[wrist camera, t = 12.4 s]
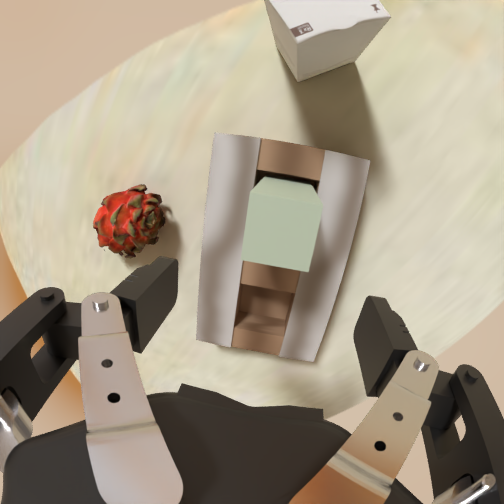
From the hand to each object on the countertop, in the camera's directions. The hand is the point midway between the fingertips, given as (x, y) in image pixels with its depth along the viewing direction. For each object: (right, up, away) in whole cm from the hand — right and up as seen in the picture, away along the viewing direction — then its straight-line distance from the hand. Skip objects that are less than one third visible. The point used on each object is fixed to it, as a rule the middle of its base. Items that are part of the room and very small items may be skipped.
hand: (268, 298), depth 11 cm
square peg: (+3, +8, +21) cm, 23 cm away
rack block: (+2, +2, +24) cm, 25 cm away
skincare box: (+7, +25, +15) cm, 30 cm away
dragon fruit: (-16, +7, +26) cm, 31 cm away
